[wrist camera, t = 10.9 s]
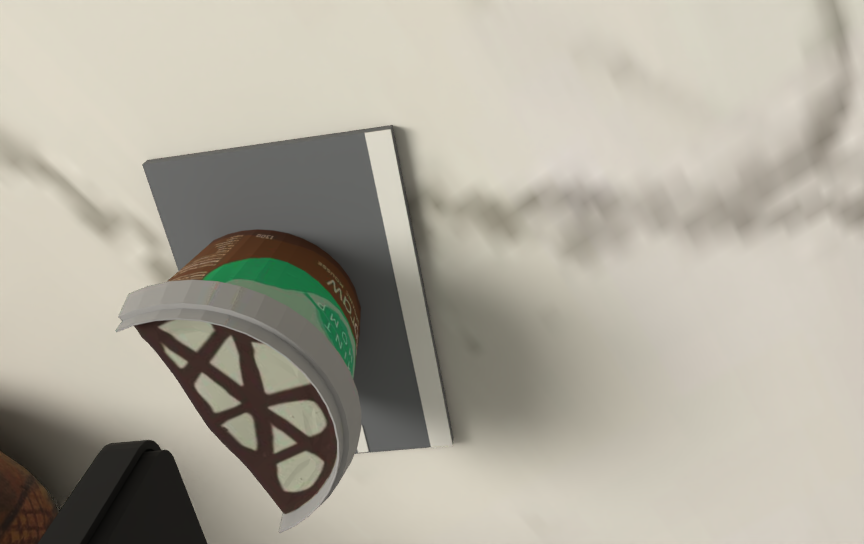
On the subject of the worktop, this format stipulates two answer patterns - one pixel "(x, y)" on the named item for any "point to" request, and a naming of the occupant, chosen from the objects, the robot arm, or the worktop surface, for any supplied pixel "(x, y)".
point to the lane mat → (343, 240)
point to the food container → (264, 357)
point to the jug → (22, 505)
